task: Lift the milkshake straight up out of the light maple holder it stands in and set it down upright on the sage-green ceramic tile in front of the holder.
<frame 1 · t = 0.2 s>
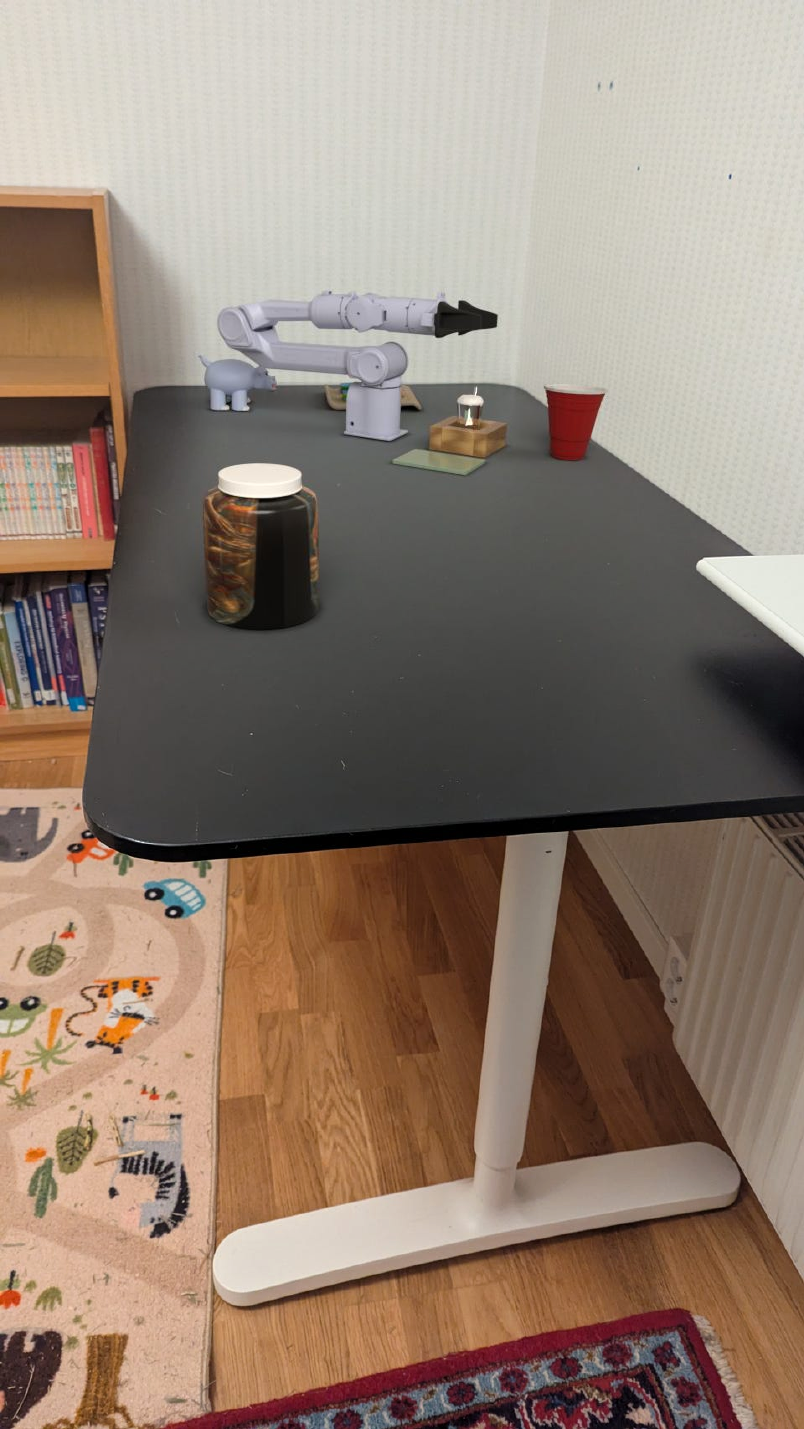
hand: (489, 321, 168), 21 cm above the table, tool horizontal, fingers open, 7 cm apart
puzzle board: (371, 403, 210), on the table
jar: (263, 611, 111), on the table
holder: (467, 447, 179), on the table
plastic cup: (567, 457, 177), on the table
milkshake: (467, 448, 179), resting in holder
hippopotamus toy: (239, 406, 202), on the table
tile: (439, 463, 169), on the table
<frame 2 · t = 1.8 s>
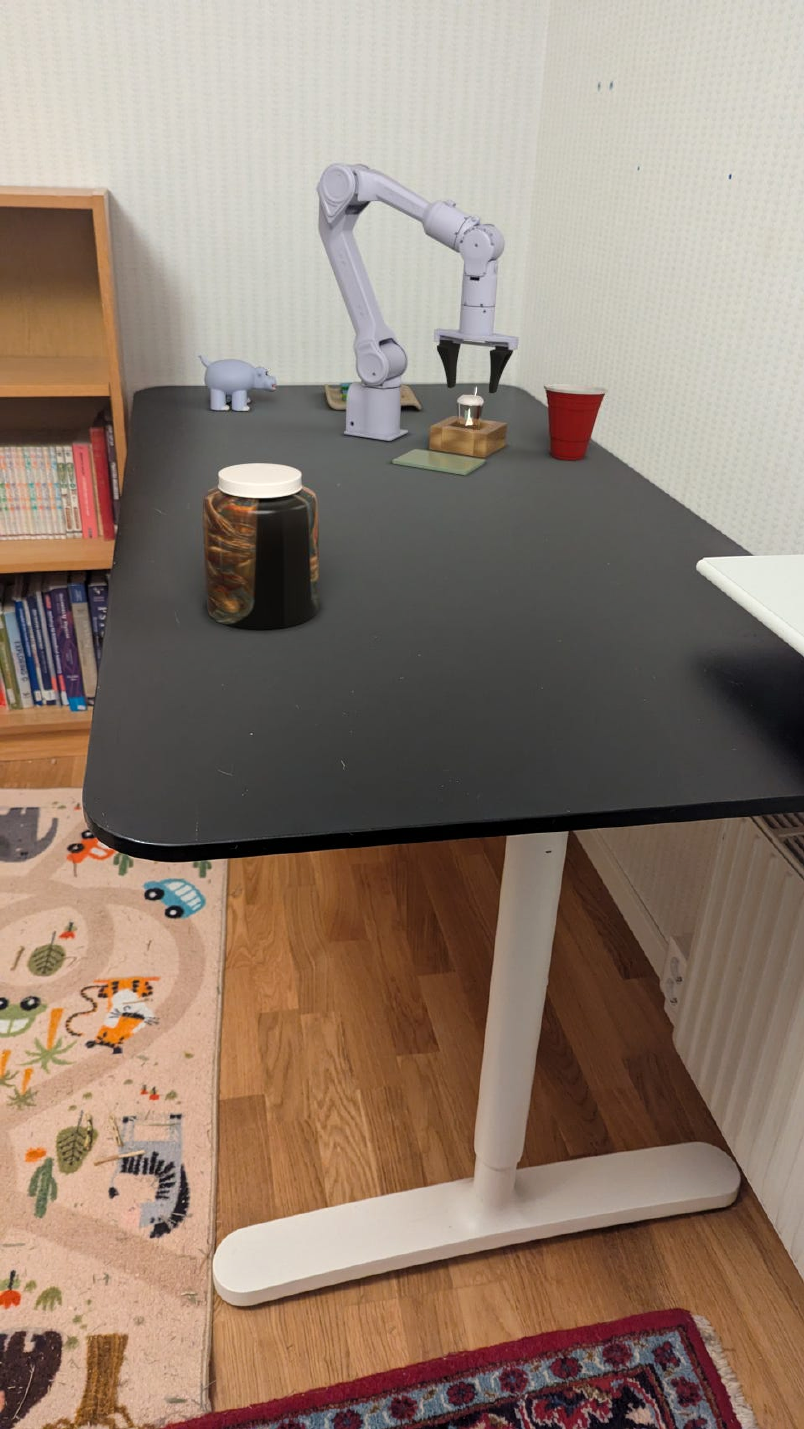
hand: (471, 389, 175), 10 cm above the table, tool pointing down, fingers open, 7 cm apart
nothing on the table moved.
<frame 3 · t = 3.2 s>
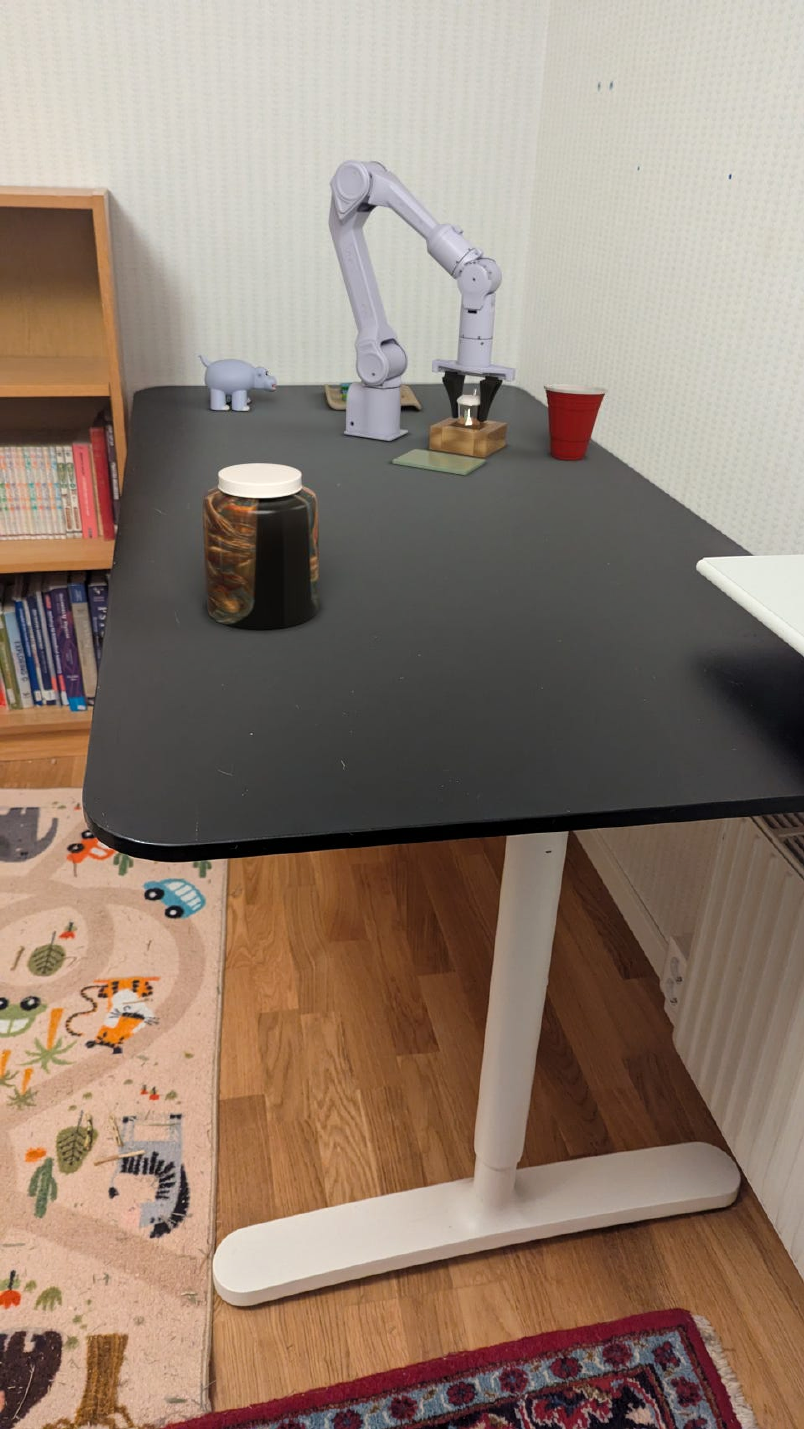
hand: (469, 419, 177), 5 cm above the table, tool pointing down, fingers closed on milkshake, 4 cm apart
milkshake: (467, 448, 179), resting in holder, touching gripper
everything else where it was.
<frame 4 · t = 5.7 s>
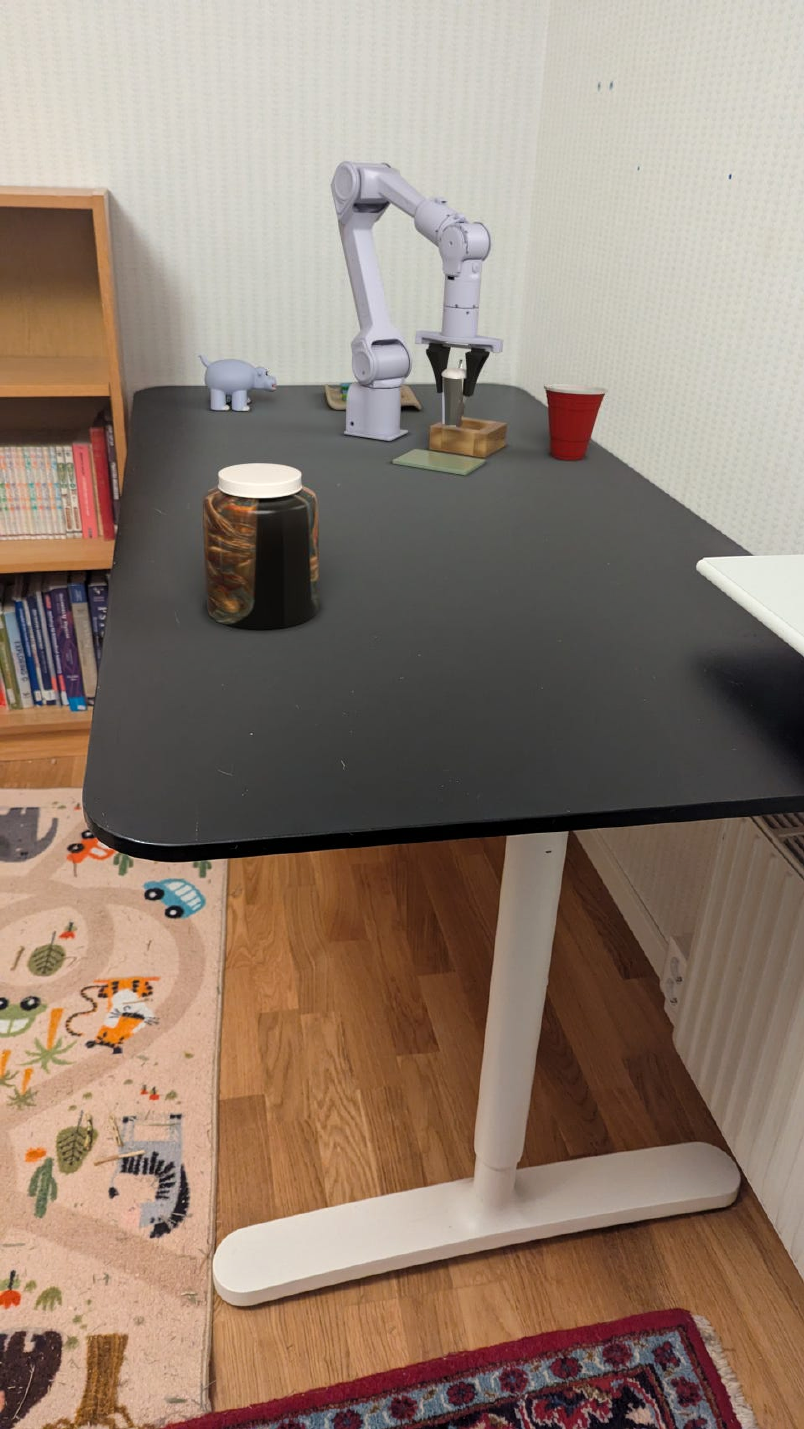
hand: (455, 394, 168), 10 cm above the table, tool pointing down, fingers closed on milkshake, 4 cm apart
milkshake: (453, 425, 171), point 5 cm above the table, touching gripper
everything else where it was.
when the fingers open (5 cm above the table, at t = 8.2 s): milkshake stays where it is, resting on tile.
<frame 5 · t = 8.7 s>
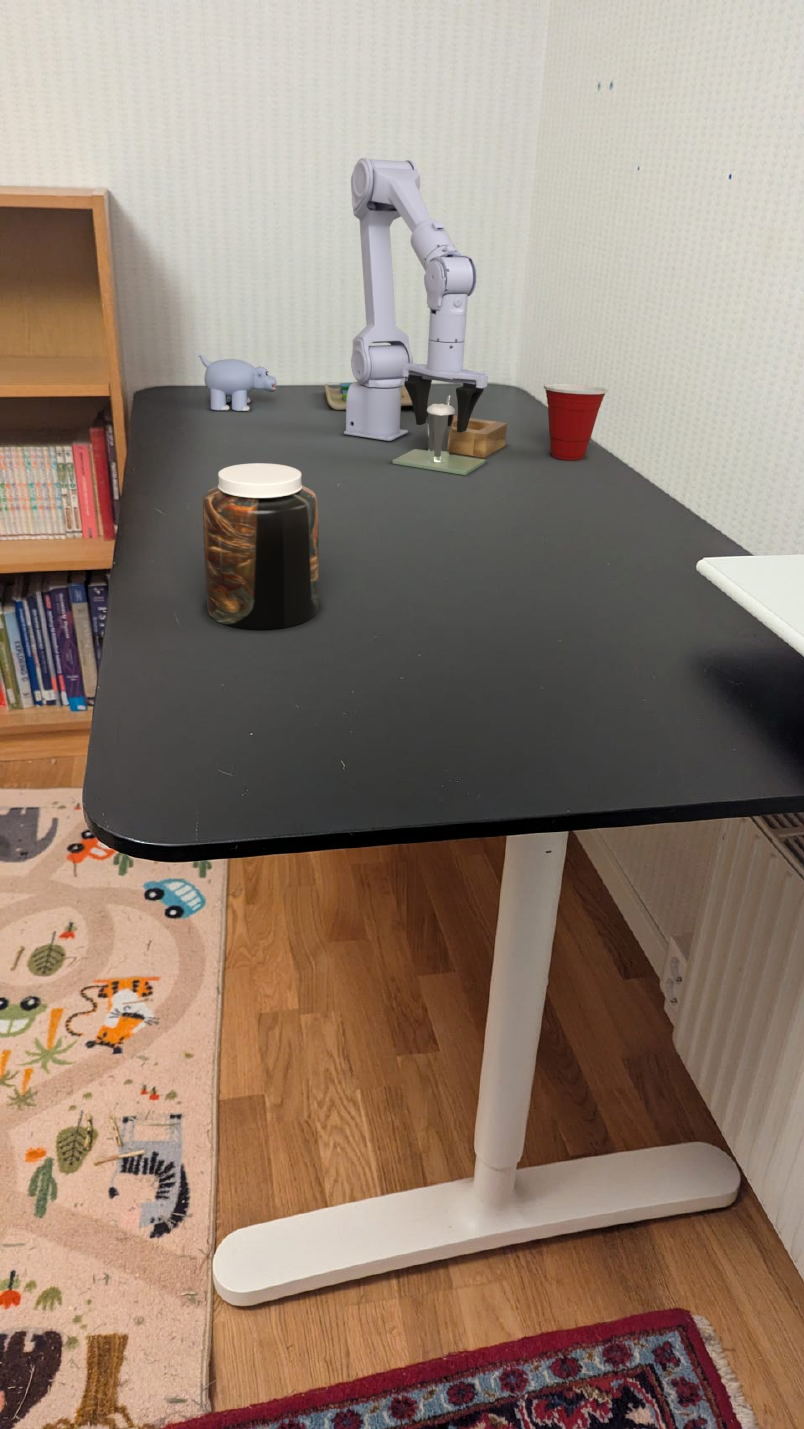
hand: (441, 427, 166), 6 cm above the table, tool pointing down, fingers open, 7 cm apart
milkshake: (439, 460, 169), resting on tile
everything else where it was.
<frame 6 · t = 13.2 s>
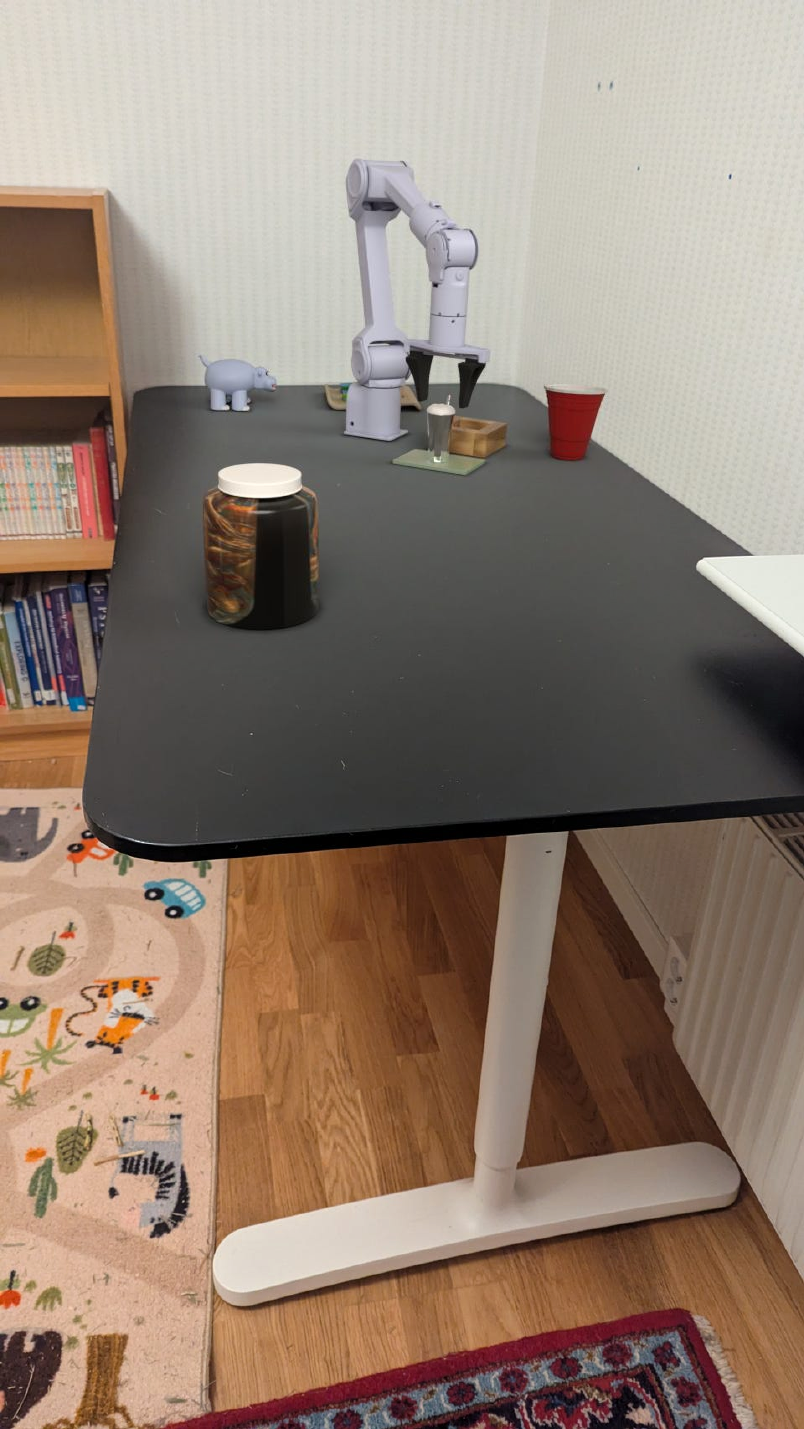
hand: (442, 404, 164), 10 cm above the table, tool pointing down, fingers open, 7 cm apart
nothing on the table moved.
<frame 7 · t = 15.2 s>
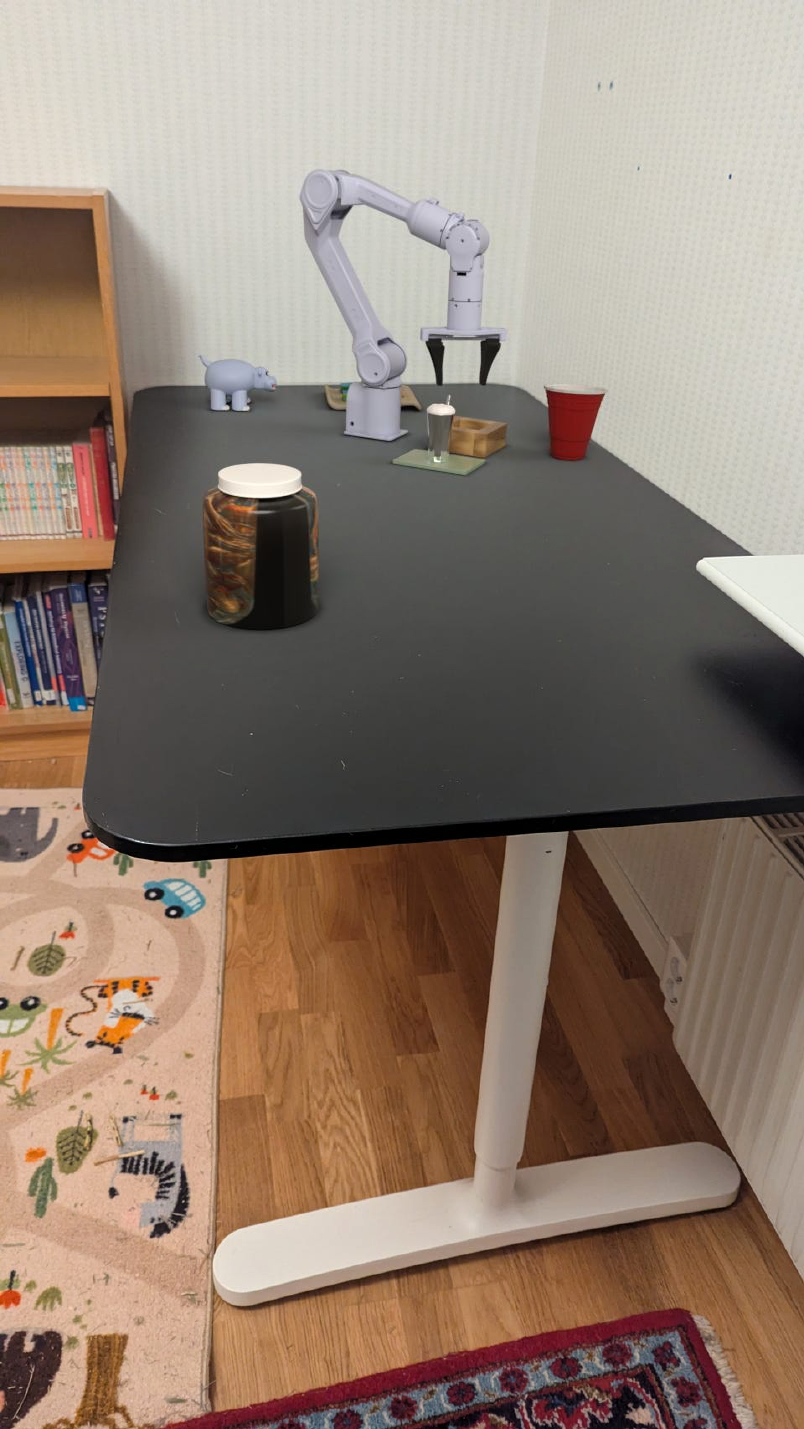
hand: (460, 384, 176), 10 cm above the table, tool pointing down, fingers open, 7 cm apart
nothing on the table moved.
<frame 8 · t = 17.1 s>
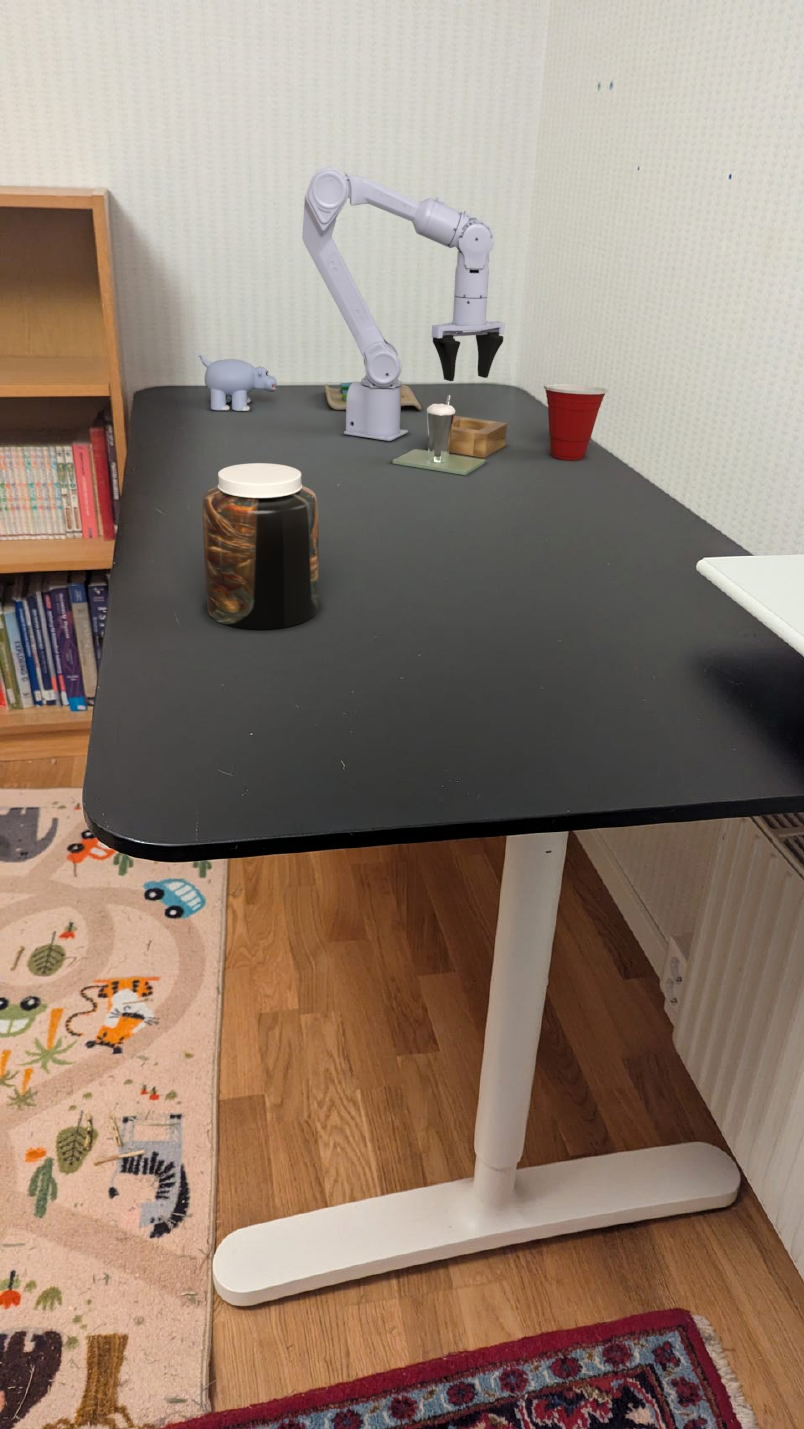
hand: (465, 378, 181), 10 cm above the table, tool pointing down, fingers open, 7 cm apart
nothing on the table moved.
at the end: milkshake inside the target area on the tile (0.0 cm from its centre), point 0.4 cm above the tile's base; milkshake tilted 0°; the gripper is holding nothing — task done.
